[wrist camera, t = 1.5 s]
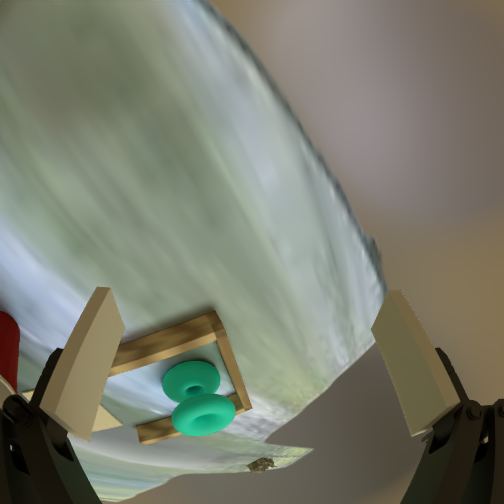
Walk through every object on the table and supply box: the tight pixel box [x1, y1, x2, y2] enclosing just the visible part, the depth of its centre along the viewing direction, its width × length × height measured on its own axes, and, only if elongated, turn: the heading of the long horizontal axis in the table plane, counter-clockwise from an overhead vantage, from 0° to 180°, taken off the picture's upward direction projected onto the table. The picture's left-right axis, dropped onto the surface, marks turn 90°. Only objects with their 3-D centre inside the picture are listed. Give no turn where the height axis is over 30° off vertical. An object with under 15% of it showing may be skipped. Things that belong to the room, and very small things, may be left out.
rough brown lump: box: [248, 458, 277, 473], centre depth 74 cm, size 11×8×4 cm
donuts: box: [162, 361, 236, 436], centre depth 37 cm, size 10×10×10 cm
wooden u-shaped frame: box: [108, 311, 252, 445], centre depth 39 cm, size 24×24×4 cm
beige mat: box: [22, 389, 123, 435], centre depth 34 cm, size 14×16×1 cm
